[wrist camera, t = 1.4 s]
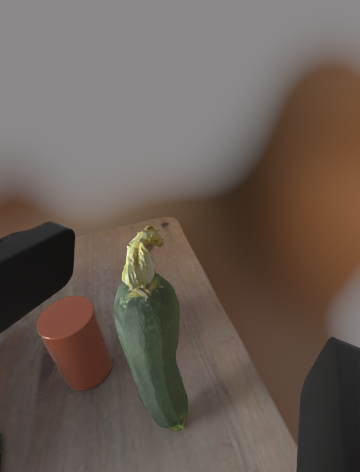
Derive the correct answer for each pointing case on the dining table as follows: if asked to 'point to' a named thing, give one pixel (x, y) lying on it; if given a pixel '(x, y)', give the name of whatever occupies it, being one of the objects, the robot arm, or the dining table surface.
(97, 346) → the orange cylinder block
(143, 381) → the vegetable
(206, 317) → the dining table surface
